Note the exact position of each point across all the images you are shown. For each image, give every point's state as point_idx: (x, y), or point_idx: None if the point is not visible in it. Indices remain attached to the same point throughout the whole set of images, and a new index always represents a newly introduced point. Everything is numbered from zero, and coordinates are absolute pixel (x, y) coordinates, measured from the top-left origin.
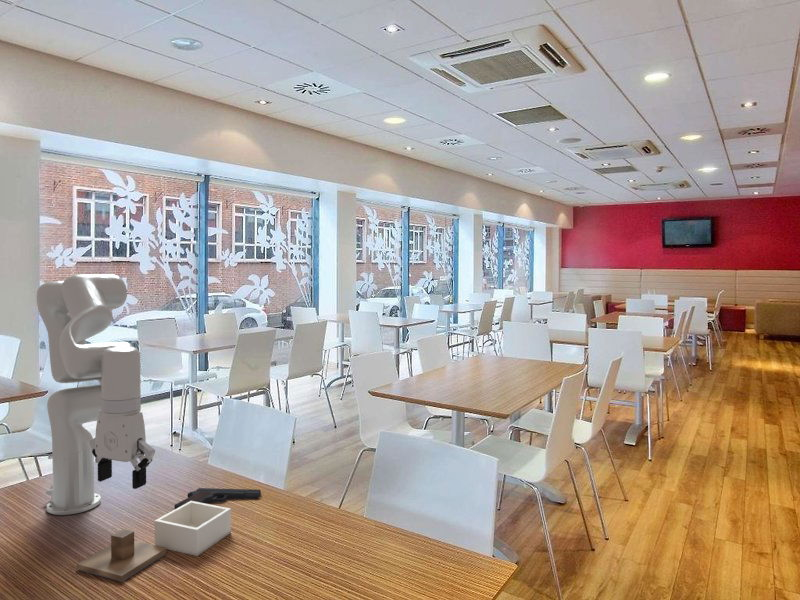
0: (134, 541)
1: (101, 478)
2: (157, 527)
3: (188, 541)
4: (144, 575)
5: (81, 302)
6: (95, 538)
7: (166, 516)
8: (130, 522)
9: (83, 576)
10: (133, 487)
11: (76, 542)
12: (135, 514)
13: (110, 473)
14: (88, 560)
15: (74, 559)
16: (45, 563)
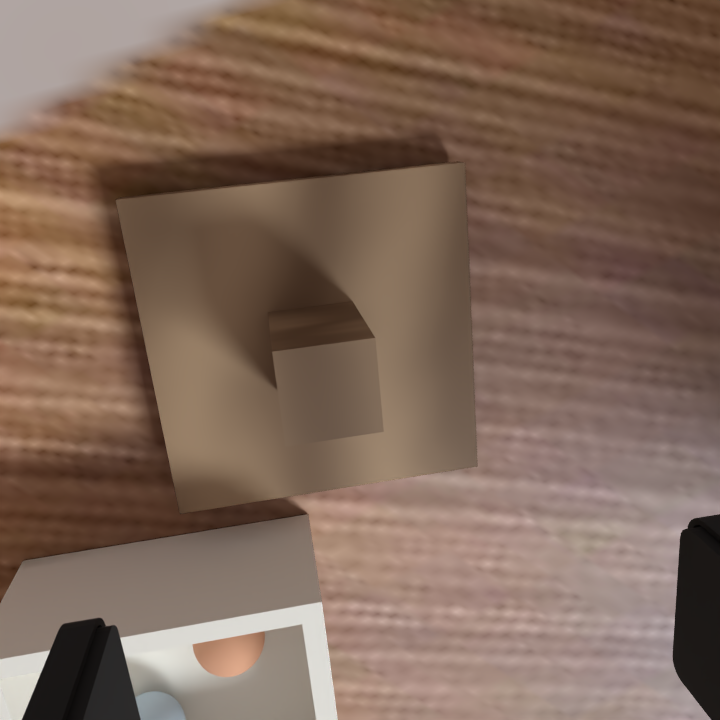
0: (395, 471)
1: (704, 555)
2: (294, 580)
3: (63, 594)
4: (85, 305)
5: None
6: (642, 413)
7: (309, 668)
8: (616, 590)
9: (367, 138)
10: (75, 626)
11: (696, 342)
12: (658, 646)
13: (703, 689)
14: (438, 219)
15: (562, 229)
16: (664, 127)
